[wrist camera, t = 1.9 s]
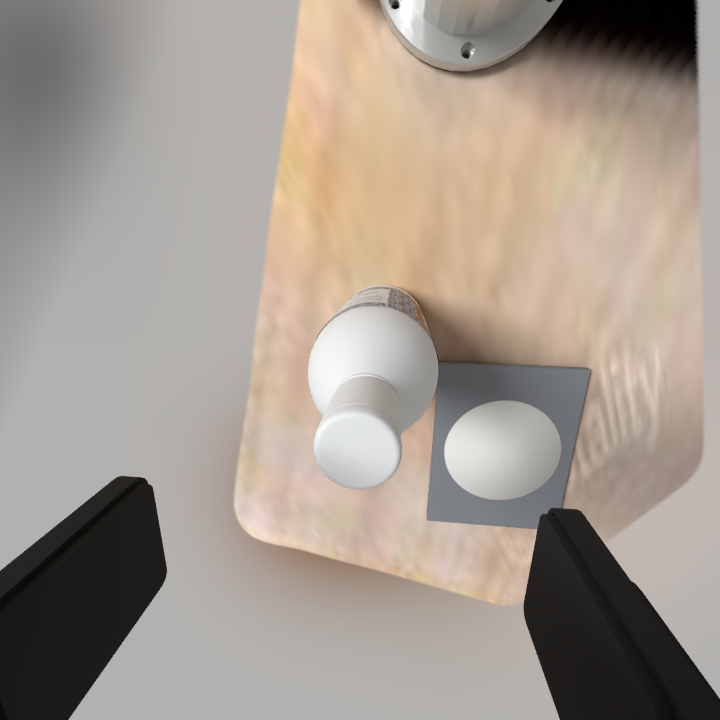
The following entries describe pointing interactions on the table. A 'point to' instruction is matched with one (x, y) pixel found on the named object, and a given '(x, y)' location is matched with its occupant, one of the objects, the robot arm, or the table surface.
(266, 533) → the table surface
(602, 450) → the table surface
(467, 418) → the rubber mat
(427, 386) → the bath foam
